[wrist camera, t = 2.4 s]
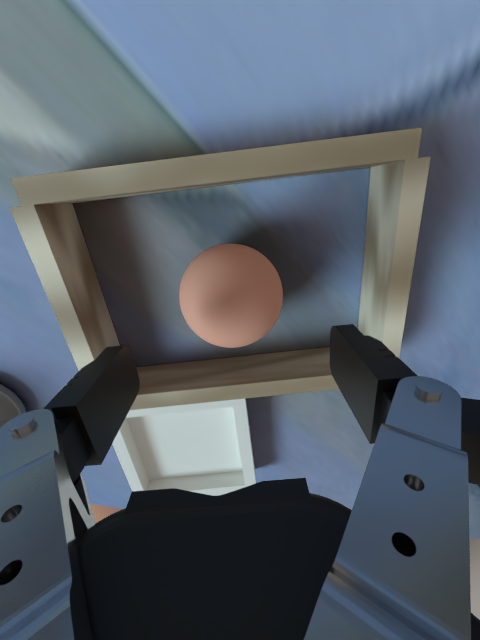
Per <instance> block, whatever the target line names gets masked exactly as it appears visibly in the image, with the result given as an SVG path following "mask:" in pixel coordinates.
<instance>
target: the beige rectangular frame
mask: <svg viewBox="0 0 480 640" xmlns="http://www.w3.org/2000/svg"><path fill="white" fill-rule="evenodd" d="M421 133H422V128H414V129H406V130H398V131H390V132H382V133H373V134H365V135H357V136H349V137H341V138H333V139H325V140H317V141H309V142H301V143H293V144H285V145H277V146H269V147H261V148H252V149H244V150H236V151H228V152H220V153H212V154H204V155H196V156H188V157H180V158H172V159H164V160H156V161H148V162H140V163H131V164H123V165H115V166H107V167H99V168H91V169H83V170H75V171H67V172H59V173H51V174H43V175H35V176H27V177H19V178H10V179H11V182H12V184H13V187H14V189H15V192H16V194H17V196H18V199H19V201H20V204H21V206H18V207H9V208H10V210H11V212H12V215H13V217H14V219H15V222H16V224H17V226H18V229H19V231H20V233H21V236H22V238H23V240H24V243H25V245H26V248H27V250H28V252H29V255H30V257H31V259H32V262H33V264H34V266H35V269H36V271H37V273H38V276H39V278H40V280H41V283H42V285H43V287H44V290H45V292H46V294H47V297H48V299H49V302H50V304H51V306H52V309H53V311H54V313H55V316H56V318H57V320H58V323H59V325H60V327H61V330H62V332H63V334H64V337H65V339H66V341H67V344H68V346H69V349H70V351H71V353H72V356H73V358H74V360H75V363H76V365H77V367H78V370H79V371H80V370H81V368H83V367H84V366H86V365H87V364H89V363H91V362H92V361H94V360H95V359H96V358H97V357H98V356H99V355H100V354H101V352H102V351H103V350H104V349H105V348H106V347H111V346H120V344H119V341H118V338H117V335H116V332H115V329H114V326H113V323H112V320H111V317H110V314H109V311H108V308H107V305H106V302H105V299H104V296H103V293H102V290H101V287H100V284H99V281H98V278H97V275H96V272H95V269H94V266H93V263H92V260H91V258H90V255H89V252H88V249H87V246H86V243H85V240H84V237H83V234H82V231H81V228H80V225H79V222H78V219H77V216H76V213H75V210H74V207H73V204H72V203H81V202H89V201H97V200H105V199H114V198H122V197H130V196H138V195H147V194H155V193H163V192H171V191H180V190H188V189H196V188H205V187H213V186H221V185H229V184H238V183H246V182H254V181H262V180H271V179H279V178H287V177H295V176H304V175H312V174H320V173H328V172H337V171H345V170H353V169H362V168H370V167H371V170H370V183H369V196H368V208H367V221H366V234H365V246H364V259H363V271H362V284H361V297H360V309H359V322H358V330H359V331H360V332H361V333H362V334H363V335H364V336H366V335H369V336H371V337H373V338H375V339H377V340H379V341H381V342H382V343H383V344H384V345H385V346H386V347H387V348H389V350H391V351H392V352H393V353H394V354H395V356H396V357H398V358H399V356H400V350H401V343H402V337H403V331H404V324H405V318H406V311H407V305H408V299H409V292H410V286H411V280H412V273H413V267H414V261H415V254H416V248H417V241H418V235H419V229H420V222H421V216H422V210H423V203H424V197H425V190H426V184H427V178H428V171H429V165H430V159H431V156H430V157H422V158H418V154H419V147H420V140H421ZM136 369H137V372H138V376H139V380H140V388H139V392H138V395H137V397H136V399H135V401H134V402H133V404H132V406H131V408H130V410H137V409H147V408H157V407H167V406H176V405H186V404H196V403H206V402H216V401H226V400H235V399H245V398H255V397H265V396H275V395H285V394H294V393H304V392H314V391H324V390H334V389H339V387H338V385H337V384H336V382H335V380H334V378H333V376H332V374H331V370H330V347H324V348H314V349H305V350H295V351H286V352H276V353H267V354H258V355H248V356H239V357H229V358H220V359H210V360H201V361H191V362H182V363H172V364H163V365H153V366H144V367H136Z"/></svg>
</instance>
